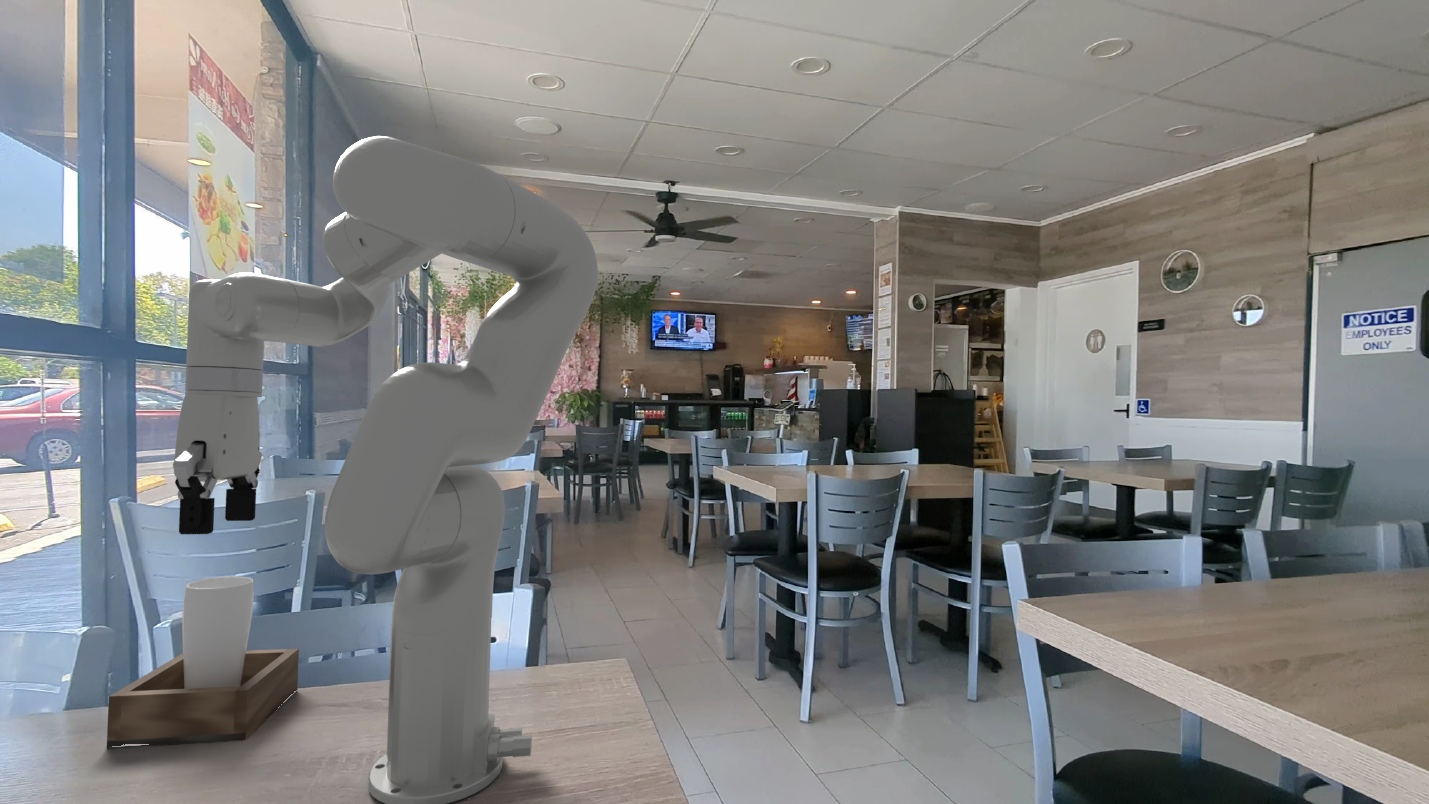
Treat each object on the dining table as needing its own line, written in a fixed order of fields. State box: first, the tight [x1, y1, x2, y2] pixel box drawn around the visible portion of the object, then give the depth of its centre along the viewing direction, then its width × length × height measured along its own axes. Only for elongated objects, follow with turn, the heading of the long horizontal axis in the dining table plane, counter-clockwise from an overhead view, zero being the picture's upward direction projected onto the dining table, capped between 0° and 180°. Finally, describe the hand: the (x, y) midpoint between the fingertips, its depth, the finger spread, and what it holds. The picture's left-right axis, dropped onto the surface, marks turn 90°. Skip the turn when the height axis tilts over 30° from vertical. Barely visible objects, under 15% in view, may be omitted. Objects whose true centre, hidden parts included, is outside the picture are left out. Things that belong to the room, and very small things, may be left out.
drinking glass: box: [181, 575, 255, 689], centre depth 80 cm, size 7×7×15 cm
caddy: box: [106, 648, 300, 749], centre depth 80 cm, size 13×13×6 cm
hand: (219, 526), depth 80 cm, fingers open, 9 cm apart
